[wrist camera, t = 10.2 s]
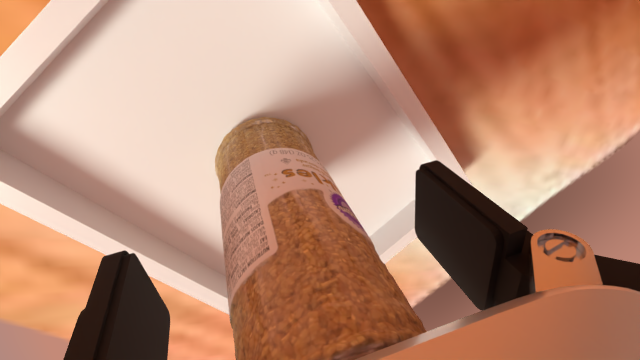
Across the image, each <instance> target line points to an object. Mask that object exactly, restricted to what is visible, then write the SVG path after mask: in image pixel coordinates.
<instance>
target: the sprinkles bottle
mask: <svg viewBox="0 0 640 360" xmlns="http://www.w3.org/2000/svg"><path fill="white" fill-rule="evenodd" d="M215 171H216V175H217V177H218V180H219V185H220V194H221V195H220V215H221V228H222V240H223V250H224V261H225V271H226V282H227V294H228V305H229V316H230V323H231V326H232V329H233V336H234V343H235V357H236V360H355V359H358V358H360V357H363V356H366V355H368V354H371V353H373V352H376V351H378V350H381V349H384V348H386V347H389V346H391V345H394V344H396V343H399V342H402V341H404V340H407V339H409V338H412V337H415V336H417V335H420V334H423V333H425V332H426V330H425V329H424V327H423V324H422V322H421V320H420V319H419V317H418V316H417V315H416V314H415V312H414V311H413V309H412V308H411V306H410V304H409V303H408V301H407V299H406V297H405V296H404V294H403V292H402V291H401V290H400V288H399V287H398V285H397V283H396V282H395V280H394V278H393V277H392V275H391V274H390V273H389V272H388V270H387V268H386V266H385V264H384V263H383V262H382V261H381V259H380V257H379V255H378V254H377V252H376V251H375V247H374V244H373V242H372V241H371V239H370V237H369V236H368V234H367V233H366V231H365V230H364V228H363V227H362V225H361V224H360V222H359V221H358V219H357V217H356V216H355V214H354V213H353V211H352V210H351V208H350V207H349V205H348V204H347V202H346V201H345V199H344V197H343V196H342V194H341V192H340V191H339V189H338V188H337V186H336V184H335V183H334V181H333V179H332V178H331V176H330V175H329V173H328V171H327V170H326V169H325V167H324V166H323V165H322V164H321V163H320V161H319V160H318V158H317V157H316V155H315V154H314V152H313V148H312V145H311V143H310V141H309V139H308V137H307V136H306V135H305V134H304V133H303V132H302V131H301V130H300V129H299V127H297V126H296V125H294V124H292V123H290V122H288V121H286V120H283V119H277V118H269V117H262V118H257V119H251V120H249V121H247V122H245V123H243V124H240V125H239V126H237V127H236V128H234V129H232V131H231V132H229V133H228V134H227V135H226V136H225V137H224V138H223V140H222V143H221V144H220V146H219V148H218V150H217V154H216V157H215Z"/></svg>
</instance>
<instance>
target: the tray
mask: <svg viewBox="0 0 640 360" xmlns="http://www.w3.org/2000/svg"><path fill="white" fill-rule="evenodd" d="M262 117H269V118H277V119H283V120H286V121H288V122H290V123H292V124H294V125H296V126H297V127H299V129H300V130H301V131H302V132H303V133H304V134H305V135H306V136H307V137H308V139H309V141H310V143H311V145H312V148H313V152H314V154H315V155H316V157H317V158H318V160H319V161H320V163H321V164H322V165H323V166H324V167H325V169H326V170H327V171H328V173H329V175H330V176H331V178H332V179H333V181H334V183H335V184H336V186H337V188H338V189H339V191H340V192H341V194H342V196H343V197H344V199H345V201H346V202H347V204H348V205H349V207H350V208H351V210H352V211H353V213H354V214H355V216H356V217H357V219H358V221H359V222H360V224H361V225H362V227H363V228H364V230H365V231H366V233H367V234H368V236H369V237H370V239H371V241H372V242H373V244H374V247H375V251H376V252H377V254H378V255H379V257H380V259H381V261H382V262H383V263H384V264H385V263H387V262H388V261H389V260H390V259H392V258H393V257H394V256H395V255H396V254H398V253H399V252H400V251H401V250H402V249H404V248H405V247H406V246H407V245H409V244H410V243H411V242H412V241H413V240H415V239H416V238H417V235H416V233H415V180H416V171H417V170H418V169H419V167H420V165H421V164H424V163H428V162H431V161H435V160H438V161H440V162H441V163H442V164H444V165H445V166H446V167H448V168H449V169H450V170H452V171H453V172H454V173H456V174H457V175H458V176H460V177H461V178H462V179H464V180H465V181H466V182H468V183H469V184H470V185H472V184H471V182H470V180H469V179H468V177H467V176H466V174H465V173H464V171H463V169H462V168H461V166H460V165H459V163H458V161H457V160H456V158H455V157H454V155H453V153H452V152H451V150H450V149H449V147H448V146H447V144H446V142H445V141H444V139H443V138H442V136H441V134H440V133H439V131H438V130H437V128H436V126H435V125H434V123H433V122H432V120H431V119H430V117H429V115H428V114H427V112H426V111H425V109H424V107H423V106H422V104H421V103H420V101H419V99H418V98H417V96H416V95H415V93H414V91H413V90H412V88H411V87H410V85H409V84H408V82H407V80H406V79H405V77H404V76H403V74H402V72H401V71H400V69H399V68H398V66H397V64H396V63H395V61H394V60H393V58H392V57H391V55H390V53H389V52H388V50H387V49H386V47H385V45H384V44H383V42H382V41H381V39H380V37H379V36H378V34H377V33H376V31H375V29H374V28H373V26H372V25H371V23H370V22H369V20H368V18H367V17H366V15H365V14H364V12H363V10H362V9H361V7H360V6H359V4H358V2H357V1H356V0H51V1H50V2H49V3H48V4H47V5H46V7H45V8H44V9H43V10H42V11H41V12H40V13H39V14H38V15H37V17H36V18H35V19H34V20H33V21H32V22H31V23H30V24H29V25H28V27H27V28H26V29H25V30H24V31H23V32H22V33H21V34H20V35H19V37H18V38H17V39H16V40H15V41H14V42H13V43H12V44H11V45H10V47H9V48H8V49H7V50H6V51H5V52H4V53H3V54H2V55H1V57H0V204H2V205H4V206H6V207H8V208H10V209H13V210H15V211H17V212H19V213H21V214H23V215H25V216H27V217H29V218H31V219H33V220H35V221H37V222H39V223H41V224H43V225H45V226H48V227H50V228H52V229H54V230H56V231H58V232H60V233H62V234H64V235H66V236H68V237H70V238H72V239H74V240H76V241H78V242H80V243H83V244H85V245H87V246H89V247H91V248H93V249H95V250H97V251H99V252H101V253H103V254H105V255H110V254H113V253H117V252H120V251H124V250H125V251H127V252H128V253H129V254H131V253H135V254H136V256H137V257H138V259H139V261H140V262H141V264H142V266H143V267H144V269H145V271H146V273H147V274H148V276H150V277H153V278H155V279H157V280H159V281H161V282H163V283H165V284H167V285H169V286H171V287H173V288H175V289H177V290H179V291H181V292H183V293H186V294H188V295H190V296H192V297H194V298H196V299H198V300H200V301H202V302H204V303H206V304H208V305H210V306H212V307H214V308H216V309H218V310H221V311H223V312H225V313H227V314H229V305H228V294H227V282H226V271H225V261H224V250H223V240H222V228H221V215H220V195H221V194H220V185H219V180H218V177H217V175H216V171H215V157H216V154H217V150H218V148H219V146H220V144H221V143H222V140H223V138H224V137H225V136H226V135H227V134H228V133H229V132H231V131H232V129H234V128H236V127H237V126H239V125H240V124H243V123H245V122H247V121H249V120H251V119H257V118H262ZM472 186H473V185H472Z"/></svg>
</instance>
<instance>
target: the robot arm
mask: <svg viewBox="0 0 640 360" xmlns="http://www.w3.org/2000/svg"><path fill="white" fill-rule="evenodd" d="M415 233H416V235H417V237H418V239H419V240H420V241H421V242H422V243H423V245H424V246H425V247H426V248H427V249H428V250H429V252H430V253H431V254H432V255H433V256H434V258H435V259H436V260H437V261H438V262H439V263H440V265H441V266H442V267H443V268H444V269H445V270H446V272H447V273H448V274H449V275H450V276H451V278H452V279H453V280H454V281H455V282H456V283H457V285H458V286H459V287H460V288H461V289H462V290H463V292H464V293H465V294H466V295H467V296H468V298H469V299H470V300H471V301H472V302H473V303H474V305H475V306H476V307H477V308H478V309H480V310H483V311H481V312H478V313H475V314H473V315H470V316H467V317H464V318H462V319H459V320H457V321H454V322H452V323H449V324H446V325H444V326H441V327H438V328H436V329H433V330H431V331H428V332H425V333H423V334H420V335H417V336H415V337H412V338H409V339H407V340H404V341H402V342H399V343H396V344H394V345H391V346H389V347H386V348H384V349H381V350H378V351H376V352H373V353H371V354H368V355H366V356H363V357H360V358H358V359H355V360H640V264H636V263H632V262H627V261H622V260H617V259H613V258H608V257H602V256H598V255H594V253H593V251H592V249H591V247H590V245H588V244H587V243H586V242H585V241H584V240H583V239H581V238H579V237H578V236H576V235H574V234H571V233H569V232H565V231H561V230H553V229H552V230H551V229H548V230H541V231H539V232H536V233H535V234H534V235H533V234H531V233H530V232H529V231H527V227H526V226H525V225H523V224H522V223H521V222H519V221H518V220H517V219H515V218H514V217H513V216H511V215H510V214H509V213H507V212H506V211H505V210H503V209H502V208H501V207H499V206H498V205H497V204H495V203H494V202H493V201H491V200H490V199H489V198H487V197H486V196H485V195H483V194H482V193H481V192H479V191H478V190H477V189H476V188H474V187H473V186H472V185H470V184H469V183H468V182H466V181H465V180H464V179H462V178H461V177H460V176H458V175H457V174H456V173H454V172H453V171H452V170H450V169H449V168H448V167H446V166H445V165H444V164H442V163H441V162H440V161H438V160H435V161H431V162H428V163H424V164H421V165H420V167H419V169H418V170H417V171H416V180H415ZM169 330H170V315H169V311H168V309H167V307H166V305H165V304H164V302H163V300H162V298H161V297H160V295H159V293H158V292H157V290H156V288H155V286H154V285H153V283H152V281H151V280H150V278H149V276H148V274H147V273H146V271H145V269H144V267H143V266H142V264H141V262H140V261H139V259H138V257H137V256H136V254H135V253H131V254H129V253H128V252H127V251H125V250H124V251H120V252H117V253H113V254H110V255H106V256H104V257H103V258H102V261H101V264H100V266H99V269H98V272H97V275H96V278H95V281H94V284H93V287H92V290H91V293H90V296H89V299H88V302H87V305H86V308H85V309H84V310H83V311H82V312H81V313H80V315H79V317H78V320H77V323H76V325H75V328H74V331H73V334H72V337H71V340H70V343H69V345H68V348H67V351H66V354H65V357H64V360H167V355H168V342H169Z"/></svg>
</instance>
